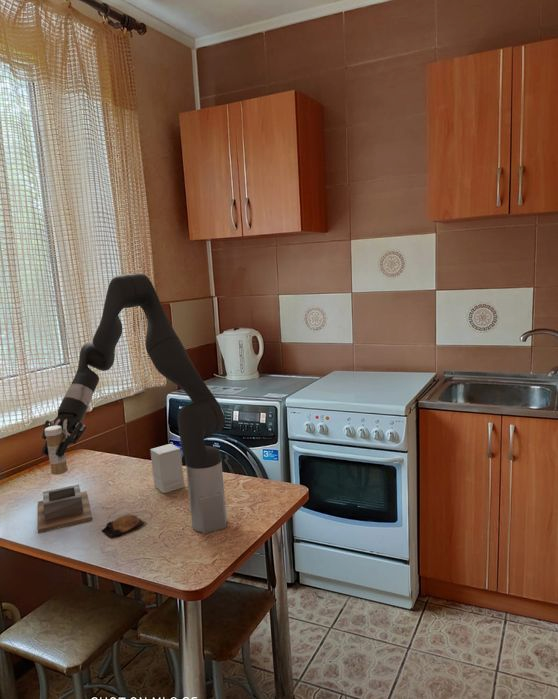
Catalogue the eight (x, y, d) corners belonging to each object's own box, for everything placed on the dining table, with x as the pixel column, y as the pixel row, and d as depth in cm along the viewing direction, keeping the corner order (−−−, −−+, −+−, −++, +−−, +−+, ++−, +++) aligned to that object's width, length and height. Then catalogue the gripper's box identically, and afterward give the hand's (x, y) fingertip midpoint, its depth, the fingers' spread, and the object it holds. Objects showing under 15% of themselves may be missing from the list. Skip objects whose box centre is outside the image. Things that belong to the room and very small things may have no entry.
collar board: (92, 519, 153) (90, 501, 152) (38, 532, 148) (35, 513, 147) (86, 494, 172) (84, 477, 171) (38, 504, 166) (35, 487, 165)
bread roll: (133, 518, 154) (132, 505, 154) (150, 526, 148) (148, 513, 148) (98, 532, 147) (96, 519, 146) (113, 542, 141) (112, 529, 140)
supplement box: (185, 487, 172) (181, 448, 169) (162, 494, 167) (158, 454, 165) (175, 480, 178) (171, 442, 176) (153, 486, 174) (149, 448, 172)
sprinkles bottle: (65, 467, 161) (58, 423, 159) (70, 471, 158) (63, 426, 156) (49, 472, 158) (42, 427, 156) (53, 476, 155) (47, 431, 153)
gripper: (49, 395, 164) (23, 448, 155) (87, 396, 159) (63, 451, 150) (64, 407, 170) (40, 459, 161) (102, 409, 164) (79, 462, 155)
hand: (51, 455), depth 155 cm, fingers closed on sprinkles bottle, 4 cm apart
